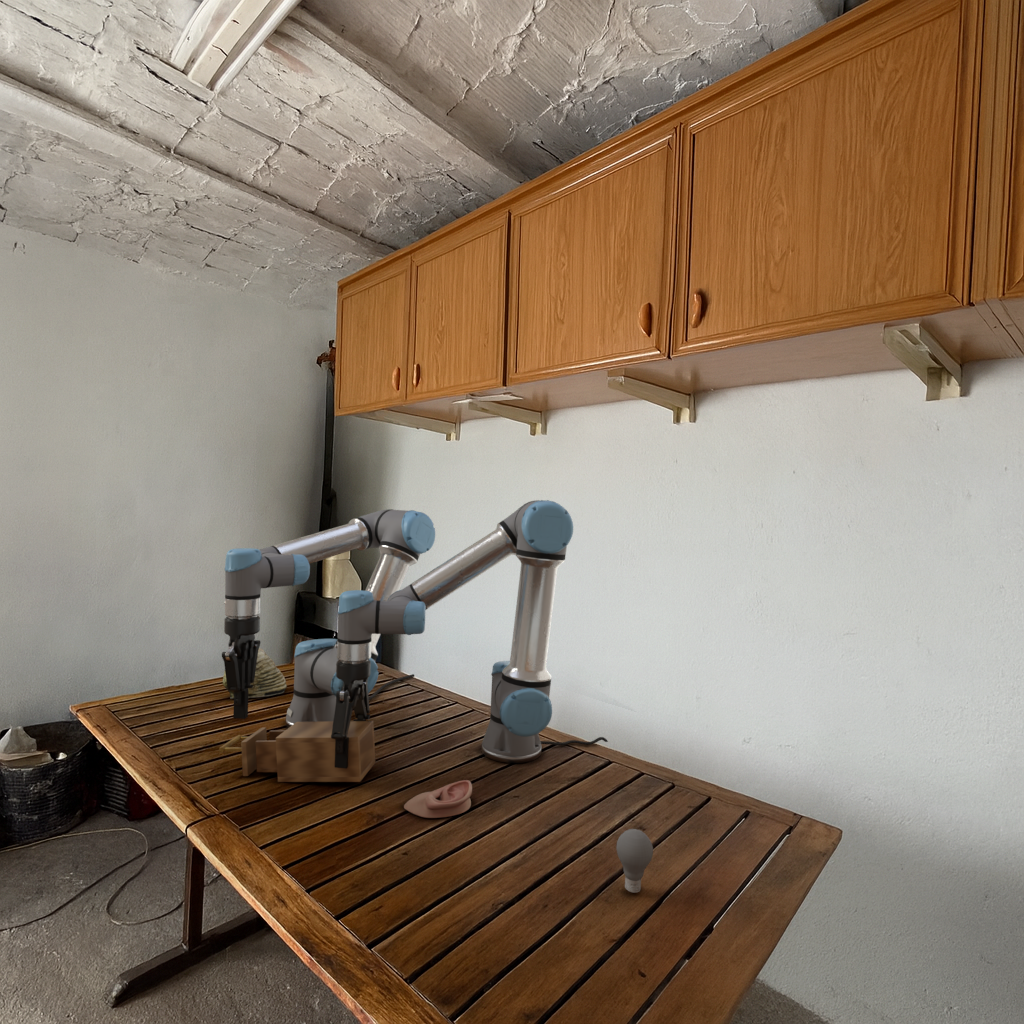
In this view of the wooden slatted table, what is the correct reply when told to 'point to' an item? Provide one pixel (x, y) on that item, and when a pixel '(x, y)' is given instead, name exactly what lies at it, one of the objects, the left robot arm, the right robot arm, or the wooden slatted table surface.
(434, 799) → the anatomical model
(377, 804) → the wooden slatted table surface
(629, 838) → the light bulb
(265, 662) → the fossil
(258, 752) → the drawer
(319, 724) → the cabinet
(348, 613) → the right robot arm
